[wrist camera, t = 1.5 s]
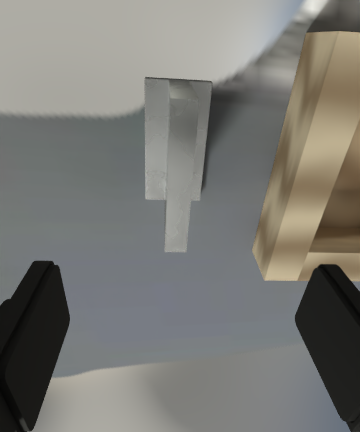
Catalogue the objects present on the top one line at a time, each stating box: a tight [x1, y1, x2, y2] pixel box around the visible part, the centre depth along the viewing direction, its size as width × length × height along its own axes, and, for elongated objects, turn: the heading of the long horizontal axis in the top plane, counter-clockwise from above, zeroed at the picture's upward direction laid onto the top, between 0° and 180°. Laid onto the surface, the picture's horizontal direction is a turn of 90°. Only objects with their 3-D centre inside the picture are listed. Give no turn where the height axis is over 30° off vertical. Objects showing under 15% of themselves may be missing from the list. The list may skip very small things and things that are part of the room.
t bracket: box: [145, 77, 212, 252], centre depth 21 cm, size 10×5×8 cm, turn 177°
